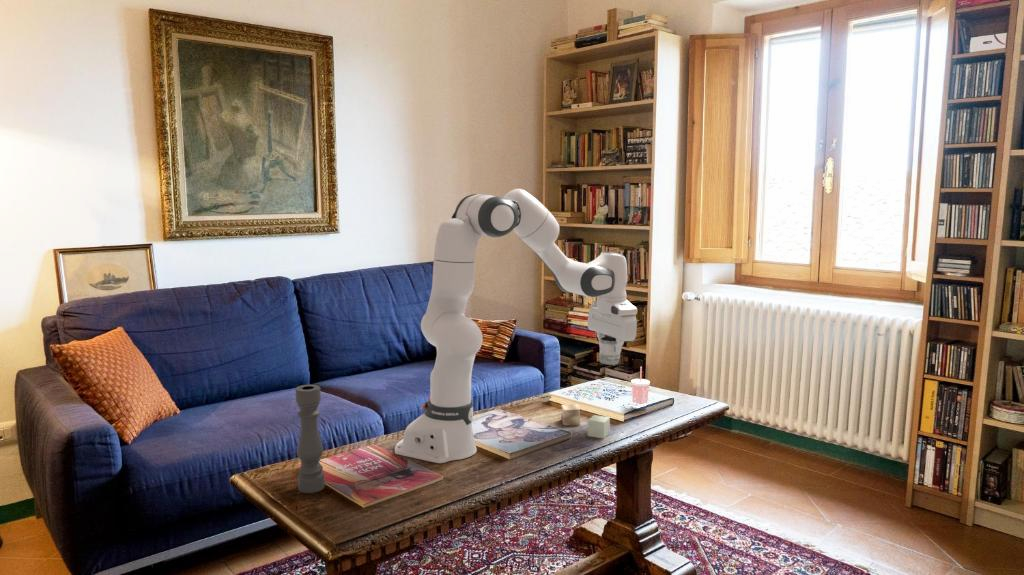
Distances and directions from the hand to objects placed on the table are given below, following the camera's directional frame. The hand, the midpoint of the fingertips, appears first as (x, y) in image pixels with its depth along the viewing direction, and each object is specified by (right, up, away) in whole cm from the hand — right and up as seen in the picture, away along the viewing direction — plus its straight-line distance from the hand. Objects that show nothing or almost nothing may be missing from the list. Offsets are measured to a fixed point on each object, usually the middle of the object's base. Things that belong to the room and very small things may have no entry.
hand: (610, 349), depth 220 cm
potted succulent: (0, -4, +1) cm, 4 cm away
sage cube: (-4, -25, -8) cm, 26 cm away
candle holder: (-79, -30, -45) cm, 96 cm away
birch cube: (-12, -23, +3) cm, 26 cm away
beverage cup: (+12, -21, +18) cm, 30 cm away
